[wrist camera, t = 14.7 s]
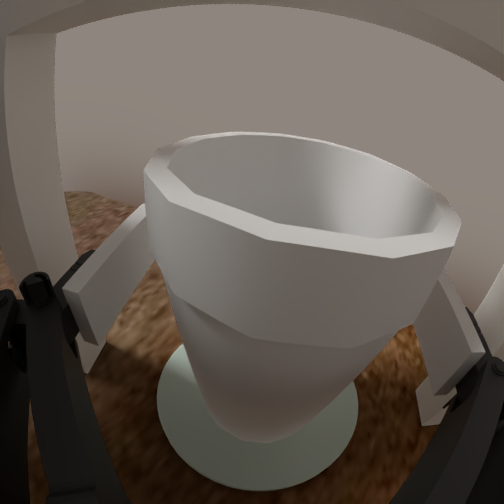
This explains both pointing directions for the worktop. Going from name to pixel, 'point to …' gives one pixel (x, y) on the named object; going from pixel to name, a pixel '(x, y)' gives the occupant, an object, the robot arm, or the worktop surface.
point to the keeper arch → (178, 366)
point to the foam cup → (288, 267)
